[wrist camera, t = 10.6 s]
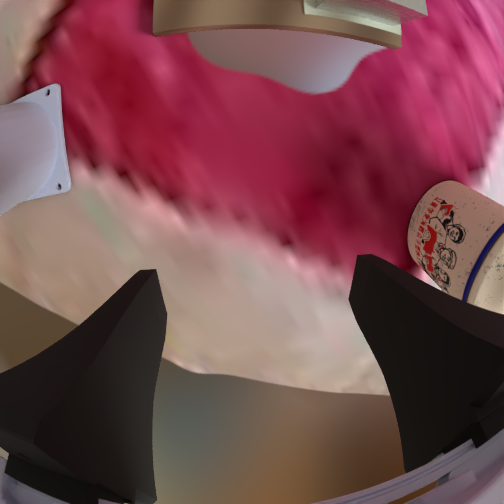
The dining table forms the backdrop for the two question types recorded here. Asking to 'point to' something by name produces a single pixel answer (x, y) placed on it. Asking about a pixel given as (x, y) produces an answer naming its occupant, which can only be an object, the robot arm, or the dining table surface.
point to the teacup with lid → (461, 243)
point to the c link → (377, 9)
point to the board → (268, 19)
